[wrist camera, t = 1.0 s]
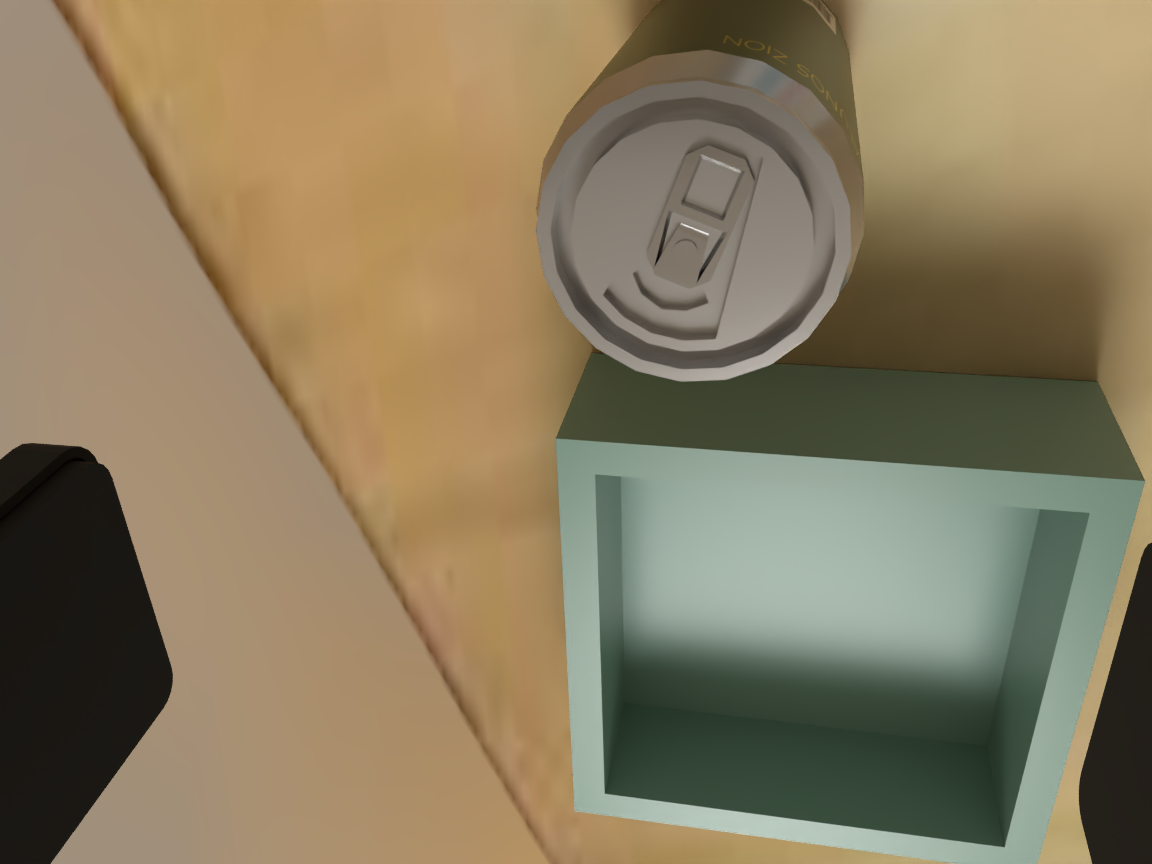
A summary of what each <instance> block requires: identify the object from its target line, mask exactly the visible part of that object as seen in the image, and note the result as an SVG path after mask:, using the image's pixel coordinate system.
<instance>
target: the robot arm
mask: <svg viewBox="0 0 1152 864" xmlns="http://www.w3.org/2000/svg"><path fill="white" fill-rule="evenodd" d="M172 679H173V674H172V668H171V664H170V661H169V658H168V654H167V651H166V648H165V645H164V642H163V639H162V635H161V632H160V629H159V626H158V623H157V620H156V616H155V613H154V610H153V607H152V603H151V600H150V597H149V594H148V591H147V588H146V584H145V581H144V578H143V575H142V572H141V568H140V565H139V562H138V559H137V556H136V552H135V549H134V546H133V543H132V540H131V537H130V534H129V530H128V527H127V524H126V521H125V517H124V514H123V511H122V508H121V505H120V501H119V498H118V495H117V492H116V489H115V486H114V482H113V479H112V477H111V475H110V472H109V470H108V469H107V468H106V467H105V466H104V465H102V464H99V463H98V462H97V460H96V458H95V456H94V455H93V454H92V453H91V452H90V451H89V450H87V449H84V448H82V447H78V446H64V445H50V444H36V443H30V444H22V445H20V446H18V447H16V448H15V449H13V450H12V451H11V452H9V453H8V454H7V455H5V456H4V457H3V458H2V459H0V864H51V862H52V861H53V859H54V858H55V856H56V855H57V854H58V853H59V851H60V850H61V848H62V847H63V846H64V844H65V843H66V842H67V840H68V839H69V837H70V836H71V835H72V833H73V832H74V831H75V829H76V828H77V826H78V825H79V824H80V822H81V821H82V820H83V818H84V816H85V815H86V814H87V813H88V811H89V810H90V809H91V807H92V806H93V804H94V803H95V802H96V800H97V799H98V797H99V796H100V795H101V793H102V792H103V791H104V789H105V788H106V786H107V785H108V784H109V782H110V781H111V780H112V778H113V777H114V775H115V774H116V773H117V771H118V770H119V769H120V767H121V766H122V764H123V763H124V762H125V760H126V759H127V758H128V756H129V755H130V753H131V752H132V750H133V749H134V748H135V746H136V745H137V744H138V742H139V741H140V740H141V738H142V737H143V735H144V734H145V733H146V731H147V730H148V729H149V727H150V726H151V725H152V723H153V722H154V720H155V719H156V717H157V716H158V715H159V714H160V712H161V711H162V709H163V708H164V706H165V704H166V703H167V701H168V698H169V695H170V693H171V688H172V681H173V680H172ZM1079 806H1080V815H1081V820H1082V824H1083V828H1084V832H1085V836H1086V840H1087V844H1088V848H1089V852H1090V856H1091V860H1092V864H1152V543H1150V544H1148V545H1147V547H1146V548H1145V550H1144V552H1143V555H1142V557H1141V561H1140V564H1139V568H1138V571H1137V575H1136V579H1135V582H1134V586H1133V589H1132V593H1131V596H1130V600H1129V604H1128V607H1127V611H1126V614H1125V618H1124V621H1123V625H1122V629H1121V632H1120V636H1119V639H1118V643H1117V646H1116V650H1115V654H1114V657H1113V661H1112V664H1111V668H1110V672H1109V675H1108V679H1107V682H1106V686H1105V689H1104V693H1103V697H1102V700H1101V704H1100V707H1099V711H1098V714H1097V718H1096V722H1095V725H1094V729H1093V732H1092V736H1091V739H1090V743H1089V747H1088V750H1087V754H1086V757H1085V761H1084V764H1083V768H1082V772H1081V777H1080V784H1079Z"/></svg>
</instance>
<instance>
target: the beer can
mask: <svg viewBox="0 0 1152 864" xmlns="http://www.w3.org/2000/svg"><path fill="white" fill-rule="evenodd" d="M536 211H537V217H538V221H537V228H536V233H537V239H538V245H539V251H540V256H541V262H542V268H543V274H544V277H545V279H546V281H547V283H548V285H549V287H550V289H551V291H552V292H553V294H554V296H555V298H556V300H557V302H558V304H559V306H560V308H561V310H562V312H563V314H564V316H565V317H566V318H567V319H568V320H569V321H570V322H571V323H572V324H573V325H574V326H575V327H576V328H577V329H578V330H579V331H580V332H581V333H582V334H583V335H584V336H585V337H586V338H587V339H588V340H589V341H590V343H591V344H592V345H593V346H594V347H595V348H596V349H598V350H600V351H602V352H603V353H605V354H607V355H609V356H610V357H612V358H614V359H616V360H618V361H619V362H621V363H623V364H625V365H626V366H628V367H630V368H632V369H633V370H635V371H638V372H642V373H647V374H651V375H655V376H659V377H663V378H667V379H671V380H676V381H680V382H685V381H710V380H728V379H730V378H733V377H736V376H739V375H742V374H745V373H748V372H751V371H754V370H757V369H760V368H763V367H766V366H769V365H771V364H773V363H774V362H775V361H777V360H778V359H780V358H781V357H782V356H784V355H785V354H787V353H788V352H789V351H791V350H792V349H794V348H795V347H796V346H798V345H799V344H801V343H802V342H803V341H805V340H806V339H808V338H809V336H810V335H811V334H812V332H813V331H814V330H815V328H816V327H817V326H818V324H819V323H820V322H821V320H822V319H823V318H824V316H825V315H826V314H827V312H828V311H829V310H830V308H831V307H832V306H833V304H834V303H835V302H836V300H837V297H838V295H839V293H840V292H841V291H842V289H843V288H844V287H845V285H846V284H847V283H848V281H849V279H850V276H851V273H852V270H853V267H854V263H855V260H856V257H857V254H858V251H859V248H860V245H861V242H862V239H863V236H864V181H863V172H862V163H861V154H860V146H859V137H858V128H857V119H856V110H855V102H854V93H853V84H852V75H851V66H850V58H849V51H848V48H847V45H846V42H845V39H844V37H843V34H842V31H841V28H840V25H839V23H838V20H837V17H836V16H835V15H834V13H833V12H832V11H831V10H830V8H829V7H828V6H827V5H826V3H825V2H824V1H823V0H661V1H660V2H659V3H658V4H657V5H656V6H655V7H654V8H653V9H652V10H651V12H650V13H649V14H648V15H647V17H646V18H645V19H644V20H643V21H642V23H641V24H640V25H639V26H638V28H637V29H636V30H635V31H634V33H633V34H632V35H631V36H630V38H629V39H628V40H627V41H626V43H625V44H624V45H623V46H622V47H621V49H620V50H619V51H618V52H617V54H616V55H615V56H614V57H613V59H612V60H611V61H610V62H609V64H608V65H607V66H606V67H605V69H604V70H603V71H602V72H601V73H600V75H599V76H598V77H597V78H596V80H595V81H594V82H593V83H592V85H591V86H590V87H589V88H588V90H587V91H586V92H585V93H584V95H583V96H582V97H581V98H580V100H579V101H578V102H577V103H576V104H575V106H574V107H573V108H572V109H571V111H570V112H569V113H568V114H567V116H566V118H565V120H564V121H563V123H562V125H561V127H560V129H559V131H558V133H557V135H556V137H555V139H554V141H553V143H552V145H551V147H550V149H549V151H548V153H547V155H546V157H545V159H544V161H543V167H542V174H541V181H540V187H539V194H538V200H537V207H536Z"/></svg>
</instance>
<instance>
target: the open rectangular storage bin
mask: <svg viewBox="0 0 1152 864" xmlns="http://www.w3.org/2000/svg"><path fill="white" fill-rule="evenodd" d="M556 453H557V473H558V492H559V512H560V531H561V551H562V571H563V590H564V610H565V629H566V649H567V668H568V688H569V708H570V727H571V747H572V766H573V786H574V806H575V811H578V812H585V813H592V814H600V815H607V816H614V817H621V818H629V819H636V820H643V821H650V822H658V823H665V824H672V825H679V826H687V827H694V828H701V829H708V830H716V831H723V832H730V833H737V834H745V835H752V836H759V837H766V838H774V839H781V840H788V841H795V842H803V843H810V844H817V845H824V846H832V847H839V848H846V849H853V850H861V851H868V852H875V853H882V854H889V855H897V856H904V857H911V858H918V859H926V860H933V861H940V862H947V863H955V864H1037V863H1038V859H1039V856H1040V852H1041V849H1042V845H1043V842H1044V838H1045V835H1046V831H1047V827H1048V824H1049V820H1050V817H1051V813H1052V810H1053V806H1054V803H1055V799H1056V796H1057V792H1058V788H1059V785H1060V781H1061V778H1062V774H1063V771H1064V767H1065V764H1066V760H1067V757H1068V753H1069V749H1070V746H1071V742H1072V739H1073V735H1074V732H1075V728H1076V725H1077V721H1078V717H1079V714H1080V710H1081V707H1082V703H1083V700H1084V696H1085V693H1086V689H1087V686H1088V682H1089V678H1090V675H1091V671H1092V668H1093V664H1094V661H1095V657H1096V654H1097V650H1098V647H1099V643H1100V639H1101V636H1102V632H1103V629H1104V625H1105V622H1106V618H1107V615H1108V611H1109V607H1110V604H1111V600H1112V597H1113V593H1114V590H1115V586H1116V583H1117V579H1118V576H1119V572H1120V568H1121V565H1122V561H1123V558H1124V554H1125V551H1126V547H1127V544H1128V540H1129V537H1130V533H1131V529H1132V526H1133V522H1134V519H1135V515H1136V512H1137V508H1138V505H1139V501H1140V497H1141V494H1142V490H1143V487H1144V483H1145V480H1144V478H1143V476H1142V473H1141V471H1140V469H1139V467H1138V465H1137V463H1136V461H1135V459H1134V457H1133V455H1132V453H1131V450H1130V448H1129V446H1128V444H1127V442H1126V440H1125V438H1124V436H1123V434H1122V432H1121V429H1120V427H1119V425H1118V423H1117V421H1116V419H1115V417H1114V415H1113V413H1112V411H1111V408H1110V406H1109V404H1108V402H1107V400H1106V398H1105V396H1104V394H1103V392H1102V390H1101V388H1100V385H1099V383H1098V382H1095V381H1077V380H1059V379H1042V378H1024V377H1006V376H988V375H971V374H953V373H935V372H918V371H900V370H882V369H865V368H847V367H829V366H811V365H794V364H776V363H773V364H771V365H769V366H766V367H763V368H760V369H757V370H754V371H751V372H748V373H745V374H742V375H739V376H736V377H733V378H730V379H728V380H710V381H685V382H680V381H676V380H671V379H667V378H663V377H659V376H655V375H651V374H647V373H642V372H638V371H635V370H633V369H632V368H630V367H628V366H626V365H625V364H623V363H621V362H619V361H618V360H616V359H614V358H612V357H610V356H609V355H607V354H599V353H591V355H590V357H589V360H588V362H587V365H586V367H585V369H584V372H583V374H582V377H581V379H580V381H579V384H578V386H577V389H576V391H575V393H574V396H573V398H572V401H571V403H570V406H569V408H568V410H567V413H566V415H565V418H564V420H563V422H562V425H561V427H560V430H559V432H558V434H557V437H556Z"/></svg>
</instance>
